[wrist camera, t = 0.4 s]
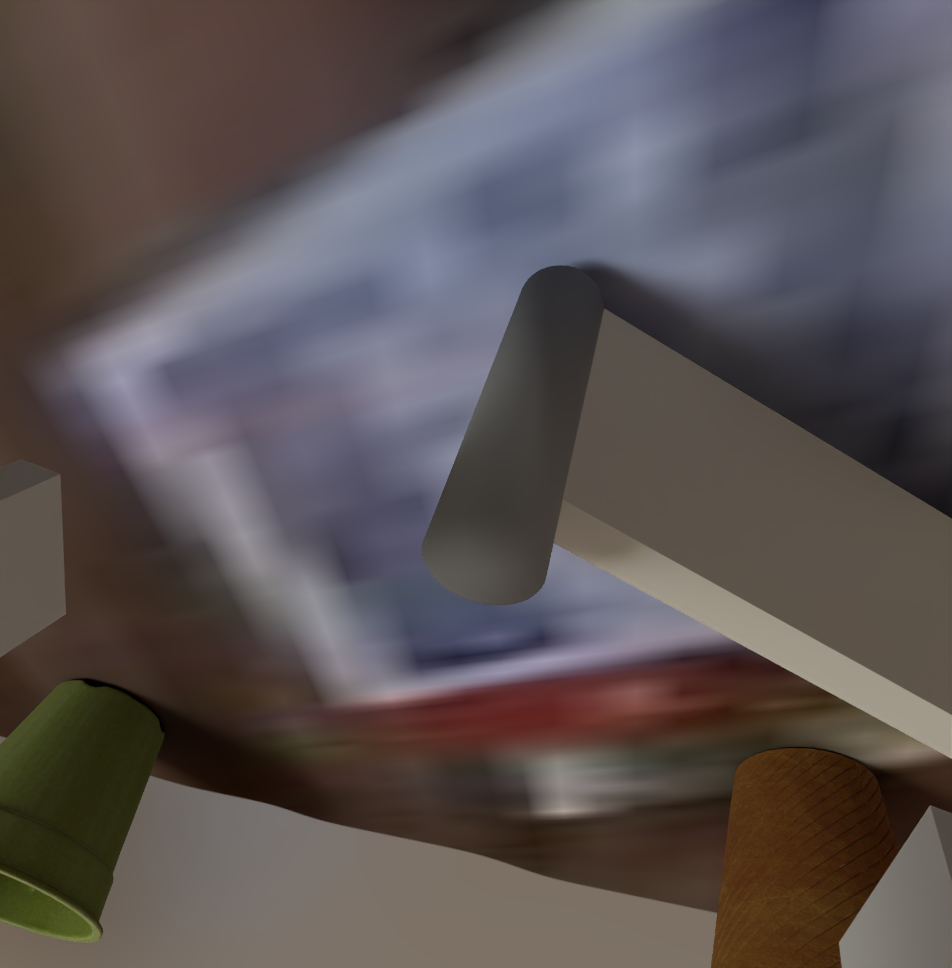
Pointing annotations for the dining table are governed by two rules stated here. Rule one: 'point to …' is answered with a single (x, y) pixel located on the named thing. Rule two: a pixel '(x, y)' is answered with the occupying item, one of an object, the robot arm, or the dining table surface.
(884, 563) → the gate
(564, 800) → the dining table surface
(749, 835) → the disposable coffee cup
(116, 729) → the plant pot
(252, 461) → the dining table surface
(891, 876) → the robot arm
